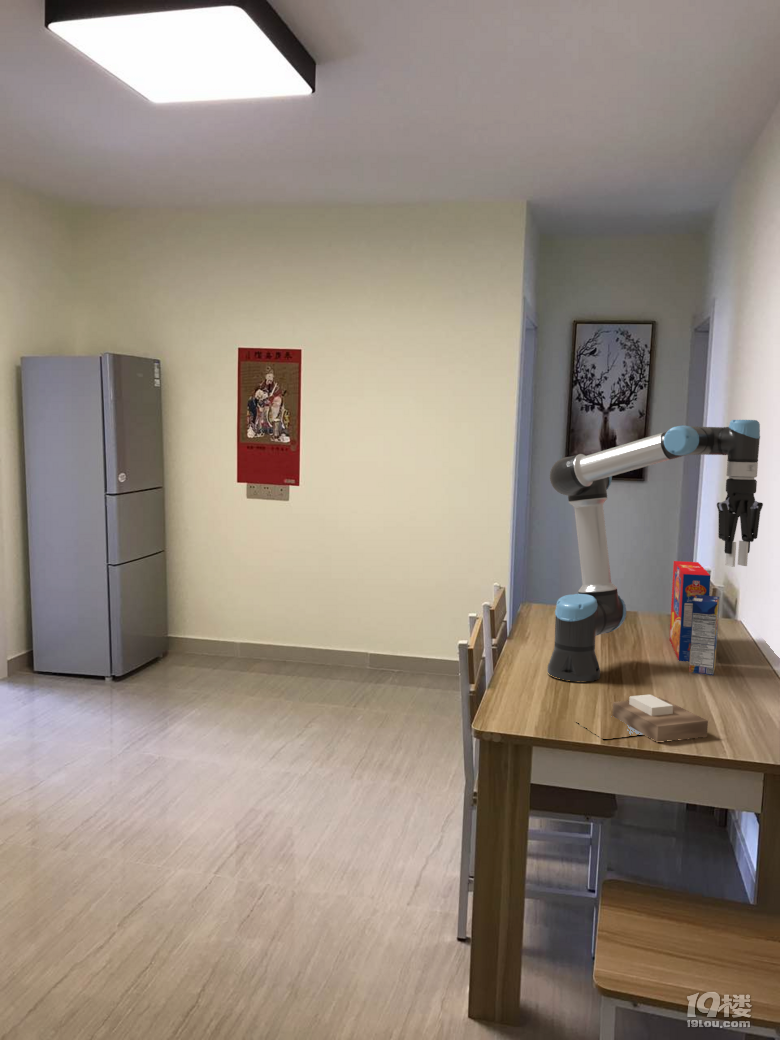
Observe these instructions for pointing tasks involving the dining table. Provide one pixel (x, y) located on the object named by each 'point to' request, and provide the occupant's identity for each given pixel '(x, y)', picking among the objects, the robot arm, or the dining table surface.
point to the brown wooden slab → (662, 722)
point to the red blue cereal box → (685, 603)
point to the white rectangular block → (651, 705)
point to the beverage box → (704, 634)
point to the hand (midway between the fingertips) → (736, 565)
